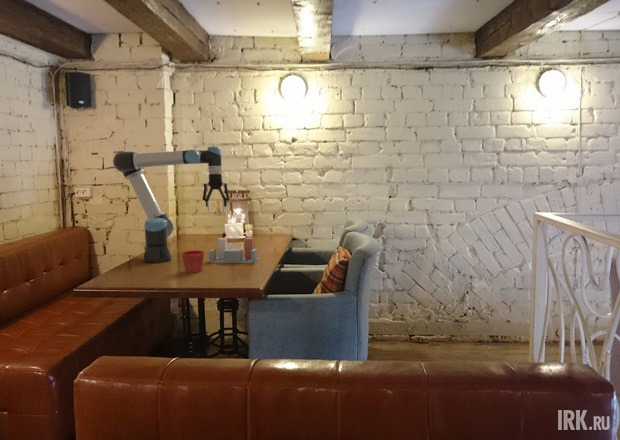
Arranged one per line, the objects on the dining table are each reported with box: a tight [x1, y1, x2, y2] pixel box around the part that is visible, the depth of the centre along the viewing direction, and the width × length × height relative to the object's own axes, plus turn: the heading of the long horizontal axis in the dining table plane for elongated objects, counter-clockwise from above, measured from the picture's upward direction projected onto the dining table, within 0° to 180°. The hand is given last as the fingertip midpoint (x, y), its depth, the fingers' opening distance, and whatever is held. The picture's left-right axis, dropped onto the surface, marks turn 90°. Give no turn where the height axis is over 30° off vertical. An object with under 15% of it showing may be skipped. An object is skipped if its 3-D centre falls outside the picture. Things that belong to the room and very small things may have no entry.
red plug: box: [243, 237, 255, 259], centre depth 281 cm, size 4×4×11 cm
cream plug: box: [217, 237, 228, 259], centre depth 283 cm, size 4×4×11 cm
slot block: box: [208, 248, 260, 264], centre depth 279 cm, size 25×12×7 cm, turn 85°
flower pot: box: [181, 250, 205, 274], centre depth 253 cm, size 11×11×10 cm
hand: (216, 212), depth 296 cm, fingers open, 8 cm apart
